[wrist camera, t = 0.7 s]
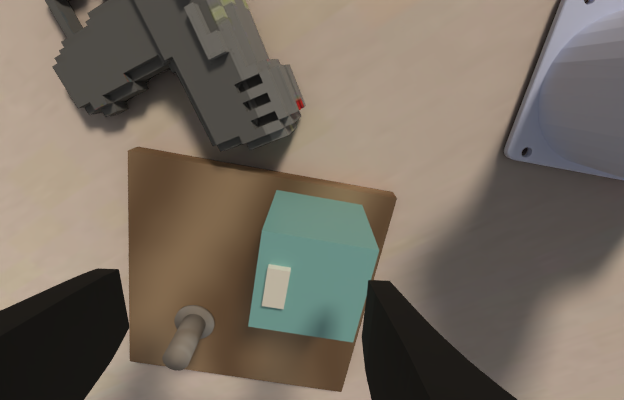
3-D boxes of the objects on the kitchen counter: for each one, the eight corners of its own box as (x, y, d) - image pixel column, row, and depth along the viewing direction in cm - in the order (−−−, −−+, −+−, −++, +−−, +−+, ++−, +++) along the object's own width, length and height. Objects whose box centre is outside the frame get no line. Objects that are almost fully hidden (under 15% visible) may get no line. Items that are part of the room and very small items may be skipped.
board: (392, 192, 18) (412, 220, 15) (340, 379, 23) (345, 437, 19) (138, 146, 18) (89, 164, 14) (137, 349, 22) (101, 403, 18)
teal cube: (362, 204, 17) (380, 253, 12) (343, 278, 19) (353, 347, 14) (276, 189, 17) (260, 234, 12) (265, 265, 19) (246, 331, 14)
